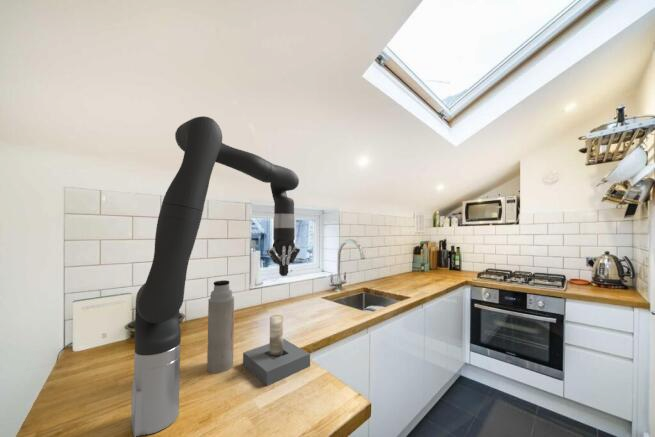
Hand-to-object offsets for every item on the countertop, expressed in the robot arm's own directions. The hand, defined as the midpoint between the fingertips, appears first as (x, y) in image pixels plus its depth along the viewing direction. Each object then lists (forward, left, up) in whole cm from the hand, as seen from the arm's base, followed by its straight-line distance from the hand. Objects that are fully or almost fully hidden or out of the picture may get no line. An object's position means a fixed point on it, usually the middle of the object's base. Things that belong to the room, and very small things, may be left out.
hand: (283, 275), depth 91 cm
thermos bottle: (-18, +10, -29) cm, 36 cm away
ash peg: (-4, -2, -29) cm, 29 cm away
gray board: (-4, -2, -29) cm, 29 cm away
